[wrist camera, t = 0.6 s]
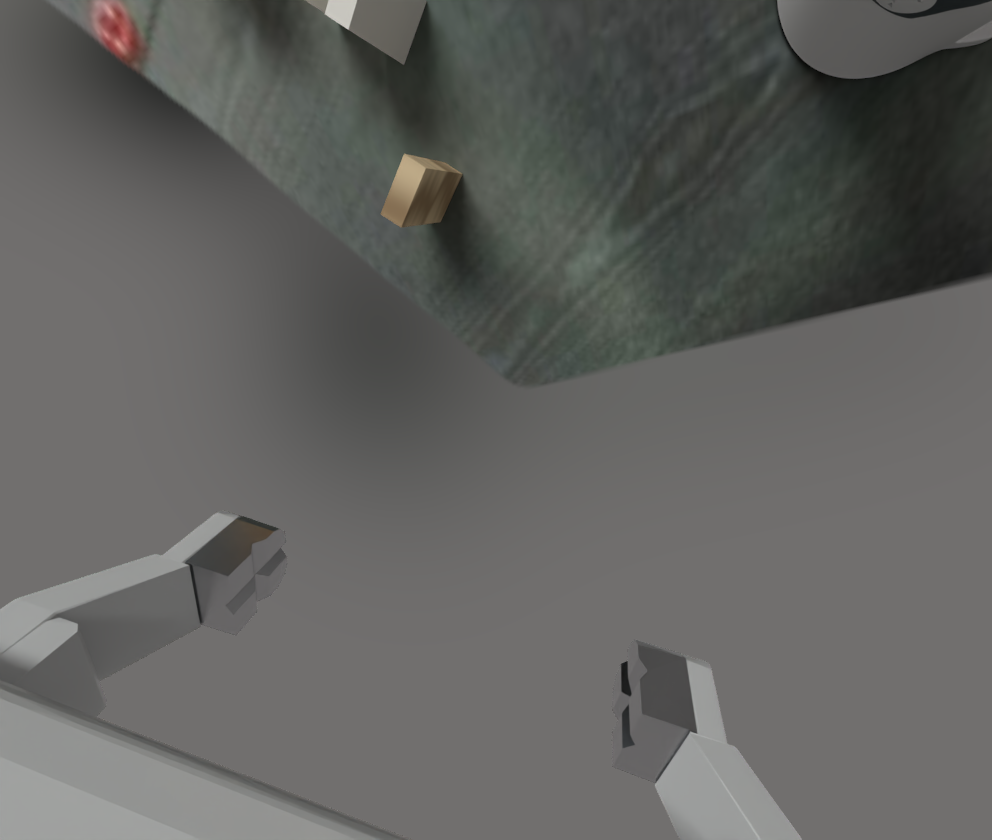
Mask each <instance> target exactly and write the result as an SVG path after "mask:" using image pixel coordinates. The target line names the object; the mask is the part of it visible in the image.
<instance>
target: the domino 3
mask: <svg viewBox="0 0 992 840" xmlns="http://www.w3.org/2000/svg"><path fill="white" fill-rule="evenodd" d="M462 175H463V174H462V173H460V172H459V171H457V170H456V169H454V168H453V167H451V166H450V165H448V164H447V163H445V162H440V161H436V160H431V159H426V158H422V157H417V156H413V155H408V154H404V156H403V158H402V161H401V163H400V166H399V168H398V171H397V173H396V176H395V179H394V181H393V184H392V186H391V189H390V191H389V194H388V197H387V199H386V202H385V204H384V207H383V209H382V212H381V215H383V216H384V217H386V218H387V219H389V220H390V221H392V222H393V223H395V224H396V225H398V226H400V227H409V226H416V225H424V224H431V223H439V222H441V220H442V218H443V216H444V214H445V212H446V209H447V207H448V205H449V203H450V201H451V198H452V196H453V194H454V192H455V190H456V188H457V185H458V183H459V181H460V179H461V177H462Z"/></svg>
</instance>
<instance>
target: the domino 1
mask: <svg viewBox="0 0 992 840" xmlns="http://www.w3.org/2000/svg"><path fill="white" fill-rule="evenodd" d="M305 1H307V2H308V3H310V4H311V5H313V6H314V7H316V8H317V9H319V10H321V11H322V12H324V13H325V11H326V7H327V4H328V0H305Z"/></svg>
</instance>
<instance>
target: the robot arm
mask: <svg viewBox="0 0 992 840" xmlns="http://www.w3.org/2000/svg"><path fill="white" fill-rule="evenodd" d="M777 4H778V12H779V17H780V21H781V25H782V28H783V31H784V34H785V36H786V38H787V40H788V42H789V44H790V45H791V47H792V48H793V50H794V51H795V52H796V54H797V55H798V56H799V57H800V58H801V59H802V60H803V61H804V62H806V63H807V64H808V65H809V66H811V67H813V68H814V69H816V70H818V71H820V72H822V73H825V74H827V75H830V76H834V77H839V78H848V79H860V78H869V77H875V76H879V75H883V74H887V73H890V72H893V71H896V70H898V69H901V68H903V67H905V66H908V65H910V64H912V63H914V62H915V61H917V60H919V59H921V58H923V57H925V56H927V55H930V54H932V53H934V52H937V51H939V50H942V49H951V48H960V47H967V46H973V45H977V44H980V43H983V42H985V41H987V40H989V39H991V38H992V0H777ZM285 543H286V538H285V531H283V530H281V529H278V528H276V527H273V526H270V525H267V524H264V523H261V522H258V521H255V520H253V519H250V518H247V517H244V516H240V515H237V514H234V513H231V512H228V511H225V510H224V511H220V512H218V513H216V514H214V515H213V516H211V517H210V518H209V519H208V520H206V521H205V522H204V523H203V524H201V525H200V526H199V527H198V528H196V529H195V530H194V531H193V532H191V533H190V534H189V535H187V536H186V537H185V538H184V539H182V540H181V541H180V542H179V543H178V544H176V545H175V546H173V547H172V548H171V549H170V550H169V551H167V552H166V553H165V554H163V555H162V556H161V555H158V554H154V555H151V556H148V557H145V558H142V559H138V560H136V561H132V562H129V563H126V564H123V565H120V566H117V567H114V568H110V569H108V570H104V571H101V572H98V573H95V574H92V575H89V576H86V577H82V578H80V579H76V580H74V581H70V582H67V583H64V584H61V585H58V586H54V587H52V588H48V589H45V590H42V591H39V592H36V593H33V594H29V595H26V596H23V597H20V598H17V599H15V600H14V601H12V602H10V603H9V604H7V605H6V606H4V607H3V608H1V609H0V840H412V839H409V838H407V837H403V836H401V835H399V834H396V833H393V832H391V831H389V830H386V829H383V828H381V827H378V826H376V825H373V824H371V823H368V822H365V821H363V820H360V819H358V818H355V817H353V816H350V815H347V814H345V813H342V812H340V811H337V810H335V809H332V808H329V807H327V806H324V805H322V804H319V803H317V802H314V801H311V800H309V799H306V798H304V797H301V796H299V795H296V794H293V793H291V792H288V791H286V790H283V789H281V788H278V787H275V786H273V785H270V784H268V783H265V782H262V781H260V780H257V779H255V778H252V777H250V776H247V775H245V774H242V773H239V772H237V771H234V770H231V769H229V768H226V767H224V766H221V765H219V764H216V763H213V762H211V761H209V760H206V759H203V758H201V757H198V756H196V755H193V754H190V753H188V752H185V751H183V750H180V749H178V748H175V747H172V746H170V745H167V744H165V743H162V742H160V741H157V740H154V739H152V738H149V737H147V736H144V735H142V734H139V733H136V732H134V731H131V730H129V729H126V728H123V727H121V726H118V725H116V724H113V723H111V722H108V721H105V720H103V719H100V718H98V717H97V716H98V715H99V714H100V713H101V711H102V710H104V709H105V707H106V697H105V695H104V692H103V689H102V687H101V684H100V681H101V680H103V679H105V678H107V677H109V676H110V675H112V674H114V673H116V672H118V671H120V670H122V669H123V668H125V667H127V666H129V665H131V664H133V663H134V662H136V661H138V660H140V659H142V658H144V657H146V656H148V655H149V654H151V653H153V652H155V651H157V650H159V649H160V648H162V647H164V646H166V645H168V644H170V643H172V642H174V641H175V640H177V639H179V638H181V637H183V636H185V635H187V634H188V633H190V632H192V631H194V630H196V629H198V628H199V627H200V624H201V625H204V626H207V627H210V628H214V629H217V630H220V631H223V632H227V633H230V634H233V635H237V634H238V633H239V631H241V629H242V628H243V627H244V626H245V625H246V624H247V622H248V621H249V620H250V619H251V618H252V616H254V614H255V613H256V612H257V603H258V601H260V600H262V599H265V598H267V597H269V596H271V595H272V593H273V592H274V591H275V590H276V589H277V587H278V586H279V584H280V582H281V580H282V578H283V576H284V574H285V571H286V566H287V556H286V555H285V553H284V552H283V550H282V549H281V547H282V546H283V545H284V544H285ZM612 710H613V712H614V714H615V716H616V717H617V719H618V722H617V724H616V726H615V728H614V730H613V732H612V748H613V750H612V751H613V752H612V753H613V754H612V755H613V756H612V758H613V767H614V768H617V769H620V770H622V771H625V772H627V773H630V774H632V775H635V776H638V777H641V778H643V779H646V780H648V781H651V782H654V783H656V784H655V787H656V789H657V791H658V794H659V796H660V798H661V800H662V802H663V805H664V807H665V809H666V811H667V813H668V816H669V818H670V820H671V822H672V824H673V826H674V829H675V831H676V833H677V835H678V837H679V839H680V840H802V839H801V837H800V836H799V834H798V833H797V832H796V830H795V829H794V828H793V826H792V825H791V824H790V822H789V821H788V819H787V818H786V816H785V815H784V814H783V812H782V811H781V809H780V808H779V807H778V805H777V804H776V803H775V801H774V800H773V798H772V797H771V795H770V794H769V793H768V791H767V790H766V789H765V787H764V786H763V784H762V783H761V782H760V780H759V779H758V777H757V776H756V775H755V773H754V772H753V770H752V769H751V768H750V766H749V765H748V763H747V762H746V761H745V759H744V758H743V757H742V755H741V754H740V752H739V751H738V749H737V748H736V747H734V746H732V745H729V744H728V743H727V739H726V734H725V729H724V725H723V720H722V716H721V711H720V706H719V702H718V697H717V692H716V688H715V683H714V678H713V674H712V669H711V666H710V665H709V663H708V662H707V661H703V660H700V659H697V658H694V657H690V656H687V655H683V654H681V653H678V652H675V651H672V650H668V649H665V648H662V647H658V646H655V645H652V644H648V643H645V642H642V641H638V640H634V641H632V642H631V644H630V646H629V649H628V661H626V662H624V663H622V664H621V665H620V667H619V670H618V672H617V675H616V679H615V683H614V688H613V701H612Z"/></svg>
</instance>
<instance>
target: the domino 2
mask: <svg viewBox="0 0 992 840" xmlns="http://www.w3.org/2000/svg"><path fill="white" fill-rule="evenodd" d="M426 2H427V1H426V0H328V4H327V7H326V11H325V15H327V16H328V17H330V18H331V19H333V20H334V21H336V22H337V23H339V24H340V25H342V26H343V27H345V28H346V29H348V30H349V31H351V32H353V33H354V34H356V35H357V36H359V37H360V38H362V39H364V40H365V41H367V42H368V43H370V44H371V45H373V46H375V47H376V48H378V49H379V50H381V51H382V52H384V53H386V54H387V55H389V56H390V57H392V58H393V59H395V60H397V61H398V62H400V63H401V64H403V65H404V64H405V61H406V58H407V55H408V53H409V50H410V47H411V44H412V41H413V39H414V36H415V33H416V30H417V27H418V25H419V22H420V19H421V16H422V13H423V11H424V8H425V5H426Z"/></svg>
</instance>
